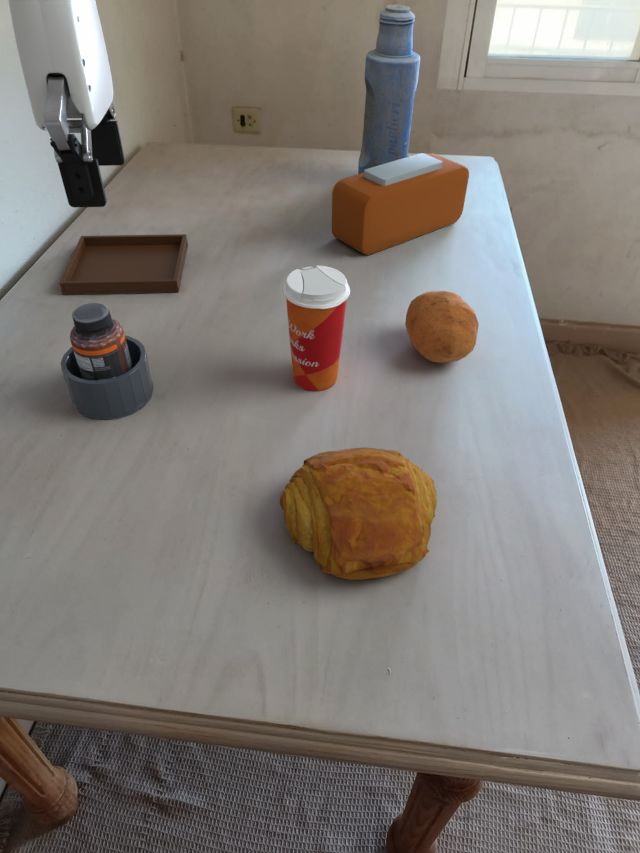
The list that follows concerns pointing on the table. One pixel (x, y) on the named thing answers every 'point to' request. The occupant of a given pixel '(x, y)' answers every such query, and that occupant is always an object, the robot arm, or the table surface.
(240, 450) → the table surface
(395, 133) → the bottle
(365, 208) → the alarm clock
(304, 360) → the paper cup
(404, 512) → the croissant
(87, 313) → the supplement bottle
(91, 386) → the grey cup
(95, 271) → the walnut tray
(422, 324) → the potato
